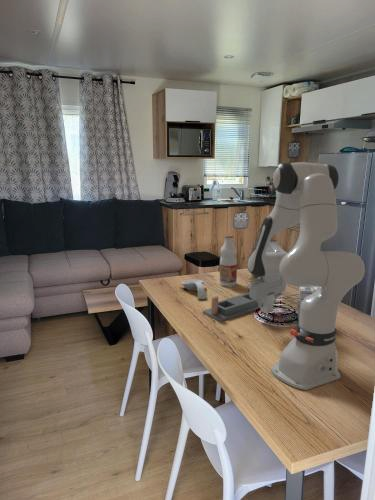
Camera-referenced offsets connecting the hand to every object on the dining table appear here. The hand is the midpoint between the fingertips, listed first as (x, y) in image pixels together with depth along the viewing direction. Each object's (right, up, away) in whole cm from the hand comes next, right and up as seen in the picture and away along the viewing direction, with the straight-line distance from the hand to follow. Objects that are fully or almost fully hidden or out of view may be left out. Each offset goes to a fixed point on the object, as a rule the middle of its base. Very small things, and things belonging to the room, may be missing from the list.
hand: (267, 304), depth 164 cm
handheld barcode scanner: (-31, +2, +28) cm, 42 cm away
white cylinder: (0, -4, +1) cm, 4 cm away
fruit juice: (-13, +5, +40) cm, 42 cm away
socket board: (-12, -3, +5) cm, 14 cm away
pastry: (+6, +6, +44) cm, 45 cm away
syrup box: (+14, -6, -8) cm, 18 cm away
